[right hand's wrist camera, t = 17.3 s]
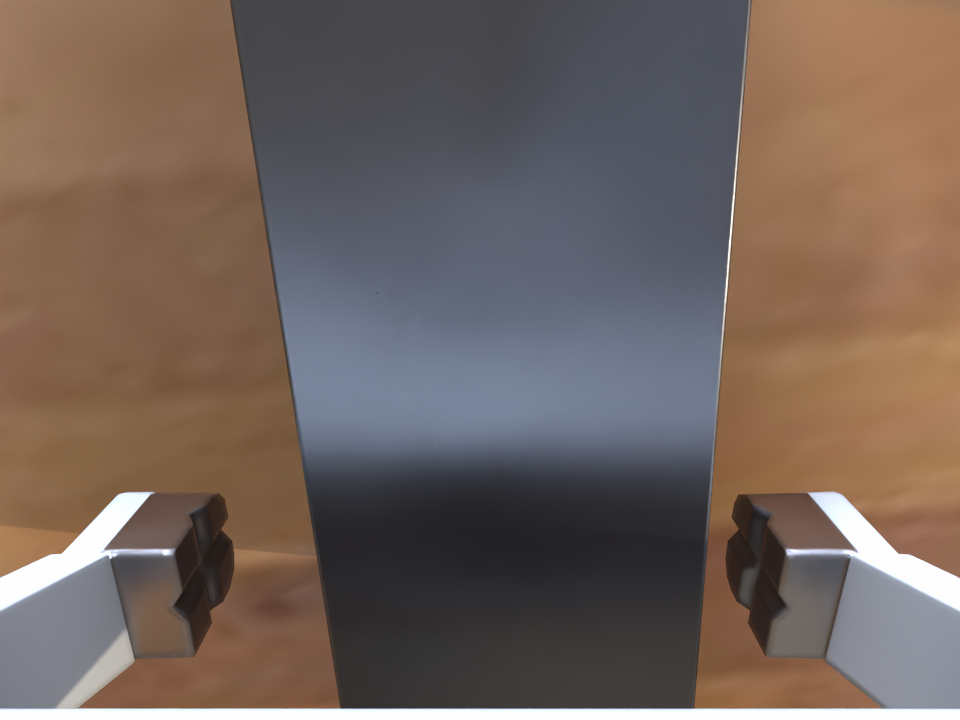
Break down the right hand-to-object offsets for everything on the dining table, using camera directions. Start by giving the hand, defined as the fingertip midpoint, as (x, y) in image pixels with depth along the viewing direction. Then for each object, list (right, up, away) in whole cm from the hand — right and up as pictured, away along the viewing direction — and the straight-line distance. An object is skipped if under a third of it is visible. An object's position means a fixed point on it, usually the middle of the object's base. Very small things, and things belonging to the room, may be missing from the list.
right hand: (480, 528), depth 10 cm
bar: (0, +10, +2) cm, 11 cm away
